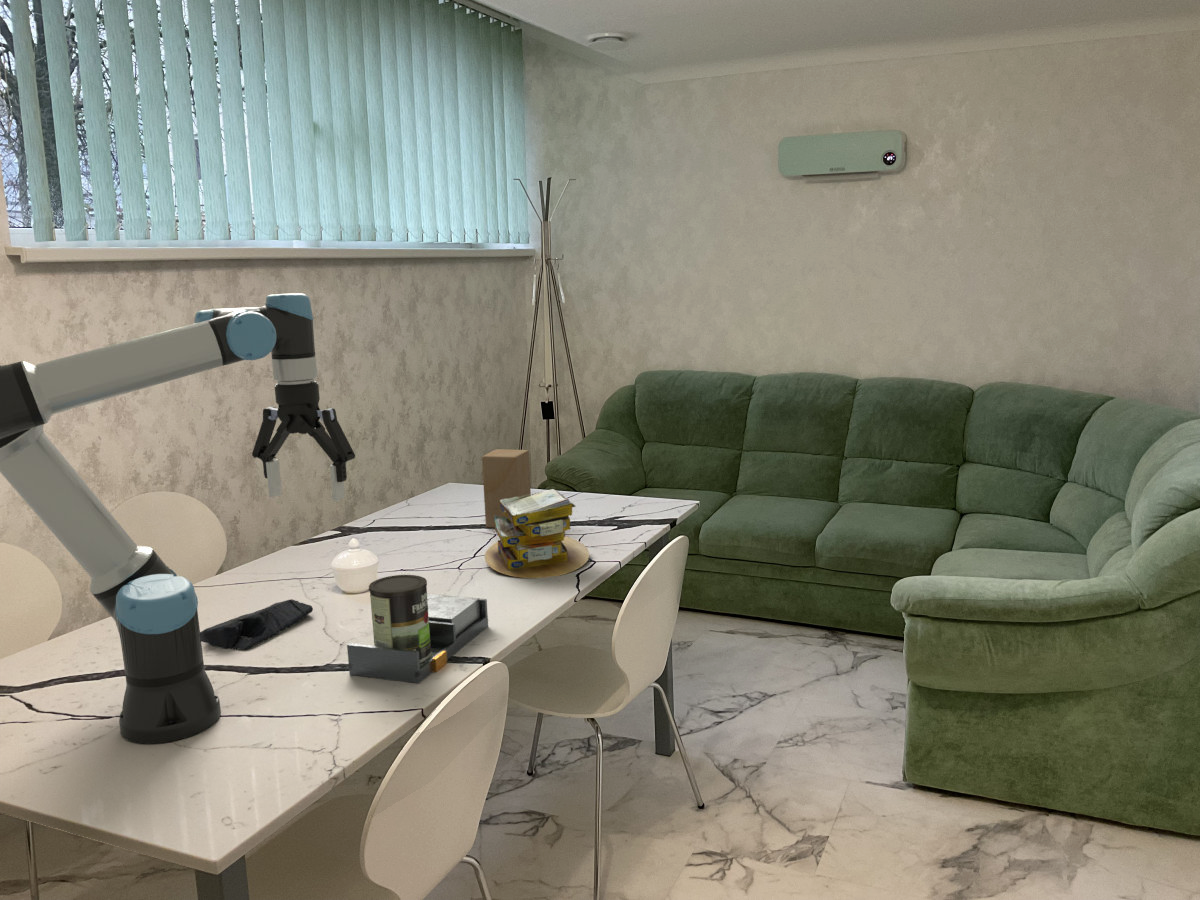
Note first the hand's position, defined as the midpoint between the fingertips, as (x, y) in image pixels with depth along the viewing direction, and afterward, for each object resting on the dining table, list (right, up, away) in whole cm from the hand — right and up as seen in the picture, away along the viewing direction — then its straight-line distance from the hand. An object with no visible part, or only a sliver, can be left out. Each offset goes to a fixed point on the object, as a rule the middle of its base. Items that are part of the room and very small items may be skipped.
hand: (306, 497), depth 182 cm
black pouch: (-16, -28, +22) cm, 39 cm away
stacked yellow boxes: (+38, -19, +59) cm, 73 cm away
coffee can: (+17, -29, +1) cm, 34 cm away
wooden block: (+28, -12, +94) cm, 99 cm away
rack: (+20, -29, +8) cm, 36 cm away
